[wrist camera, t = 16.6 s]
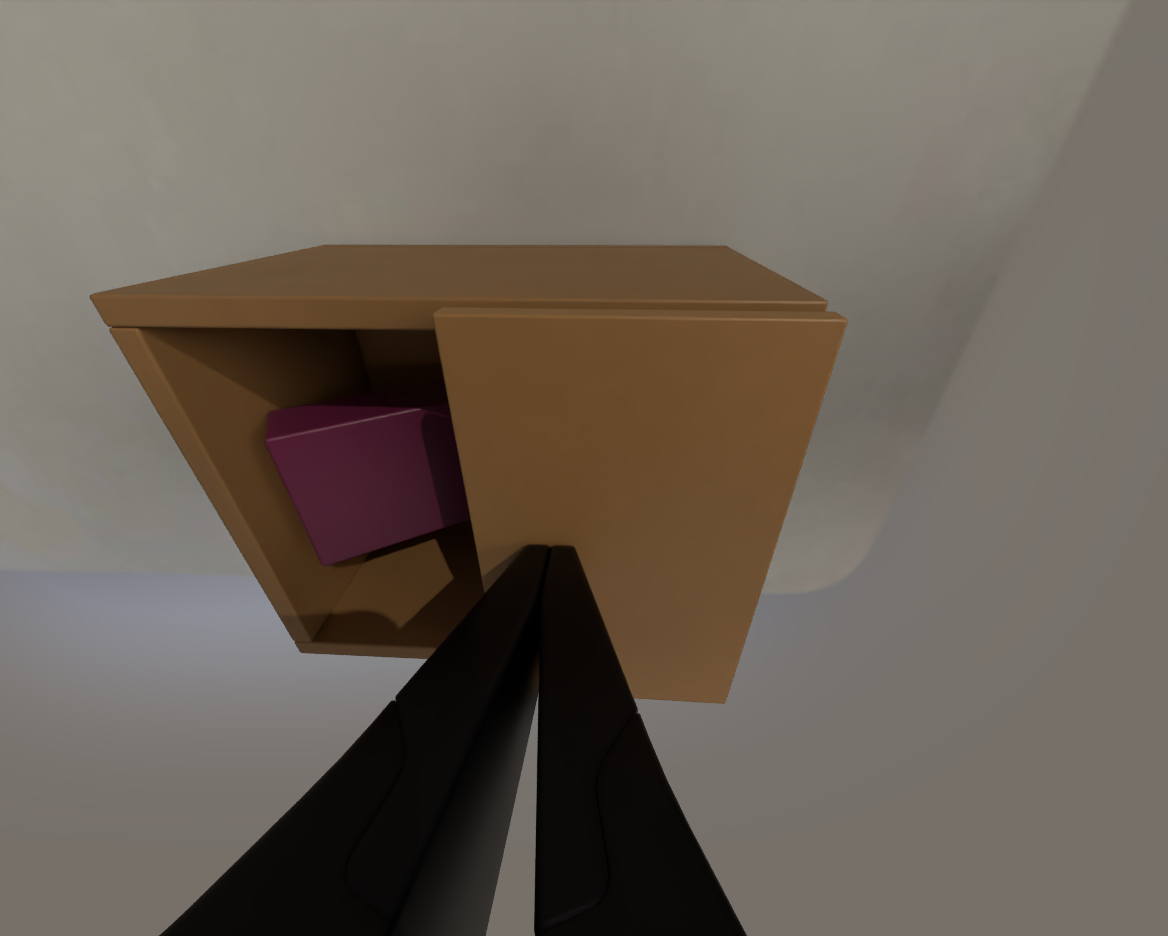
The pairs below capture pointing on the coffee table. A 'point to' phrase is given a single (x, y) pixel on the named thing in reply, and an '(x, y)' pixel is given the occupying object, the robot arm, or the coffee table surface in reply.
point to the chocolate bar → (370, 468)
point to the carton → (363, 365)
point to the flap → (640, 462)
